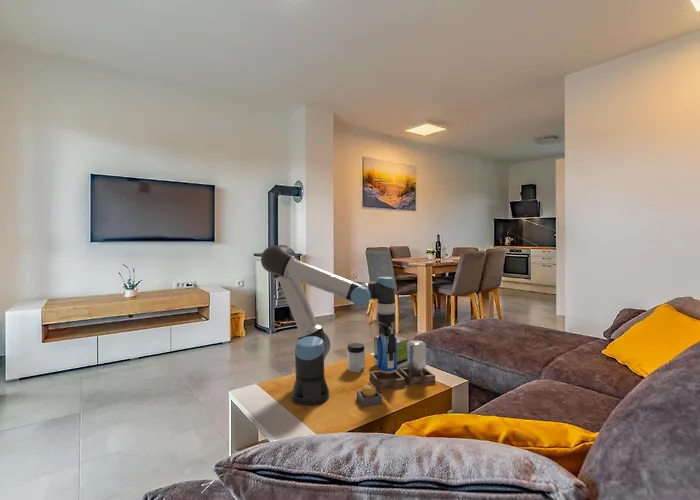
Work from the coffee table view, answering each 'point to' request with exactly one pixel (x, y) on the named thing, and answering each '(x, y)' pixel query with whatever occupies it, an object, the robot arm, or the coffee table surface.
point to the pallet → (399, 379)
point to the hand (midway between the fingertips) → (387, 364)
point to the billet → (416, 358)
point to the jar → (355, 357)
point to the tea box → (400, 352)
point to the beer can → (385, 354)
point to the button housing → (369, 399)
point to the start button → (369, 391)
